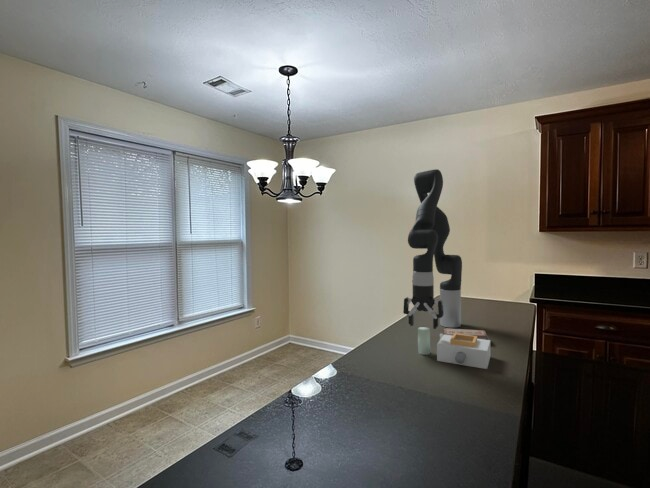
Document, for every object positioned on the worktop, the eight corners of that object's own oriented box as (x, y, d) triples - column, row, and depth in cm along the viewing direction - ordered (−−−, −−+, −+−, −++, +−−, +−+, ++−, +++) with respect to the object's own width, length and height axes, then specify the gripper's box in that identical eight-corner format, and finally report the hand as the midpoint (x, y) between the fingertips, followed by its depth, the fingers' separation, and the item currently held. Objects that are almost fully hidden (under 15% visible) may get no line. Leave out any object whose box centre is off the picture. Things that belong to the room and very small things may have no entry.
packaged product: (484, 328, 147) (489, 335, 137) (484, 339, 147) (489, 347, 137) (439, 325, 151) (440, 332, 142) (439, 337, 151) (440, 344, 142)
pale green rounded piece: (419, 349, 135) (419, 326, 135) (431, 351, 133) (431, 328, 133) (416, 353, 131) (416, 329, 131) (428, 355, 129) (428, 331, 129)
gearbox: (444, 350, 135) (443, 330, 134) (490, 356, 127) (490, 336, 126) (435, 363, 122) (434, 342, 121) (486, 372, 114) (486, 349, 113)
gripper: (445, 283, 131) (445, 326, 131) (407, 281, 138) (407, 322, 139) (440, 286, 124) (440, 332, 125) (401, 283, 131) (401, 327, 132)
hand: (423, 326), depth 132 cm, fingers open, 8 cm apart
